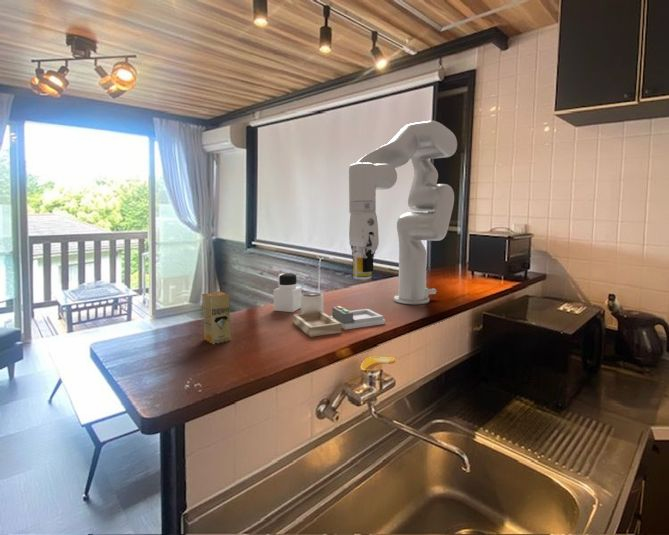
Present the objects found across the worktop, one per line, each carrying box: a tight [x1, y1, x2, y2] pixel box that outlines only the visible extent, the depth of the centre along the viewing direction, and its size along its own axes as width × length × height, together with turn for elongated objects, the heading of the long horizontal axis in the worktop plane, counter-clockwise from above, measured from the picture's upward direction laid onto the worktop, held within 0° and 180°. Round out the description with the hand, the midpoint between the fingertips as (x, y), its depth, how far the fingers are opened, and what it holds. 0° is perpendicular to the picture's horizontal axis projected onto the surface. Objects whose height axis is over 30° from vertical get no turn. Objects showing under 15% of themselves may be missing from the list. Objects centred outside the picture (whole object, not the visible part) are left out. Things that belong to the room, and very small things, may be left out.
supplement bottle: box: [352, 245, 373, 280], centre depth 117 cm, size 5×5×10 cm
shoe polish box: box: [201, 291, 232, 345], centre depth 102 cm, size 5×5×12 cm
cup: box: [300, 291, 324, 314], centre depth 124 cm, size 7×7×7 cm
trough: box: [292, 311, 342, 338], centre depth 113 cm, size 14×9×2 cm, turn 24°
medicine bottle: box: [272, 272, 302, 313], centre depth 133 cm, size 7×7×12 cm
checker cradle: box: [329, 305, 386, 330], centre depth 118 cm, size 13×10×5 cm
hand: (362, 269), depth 117 cm, fingers closed on supplement bottle, 5 cm apart
